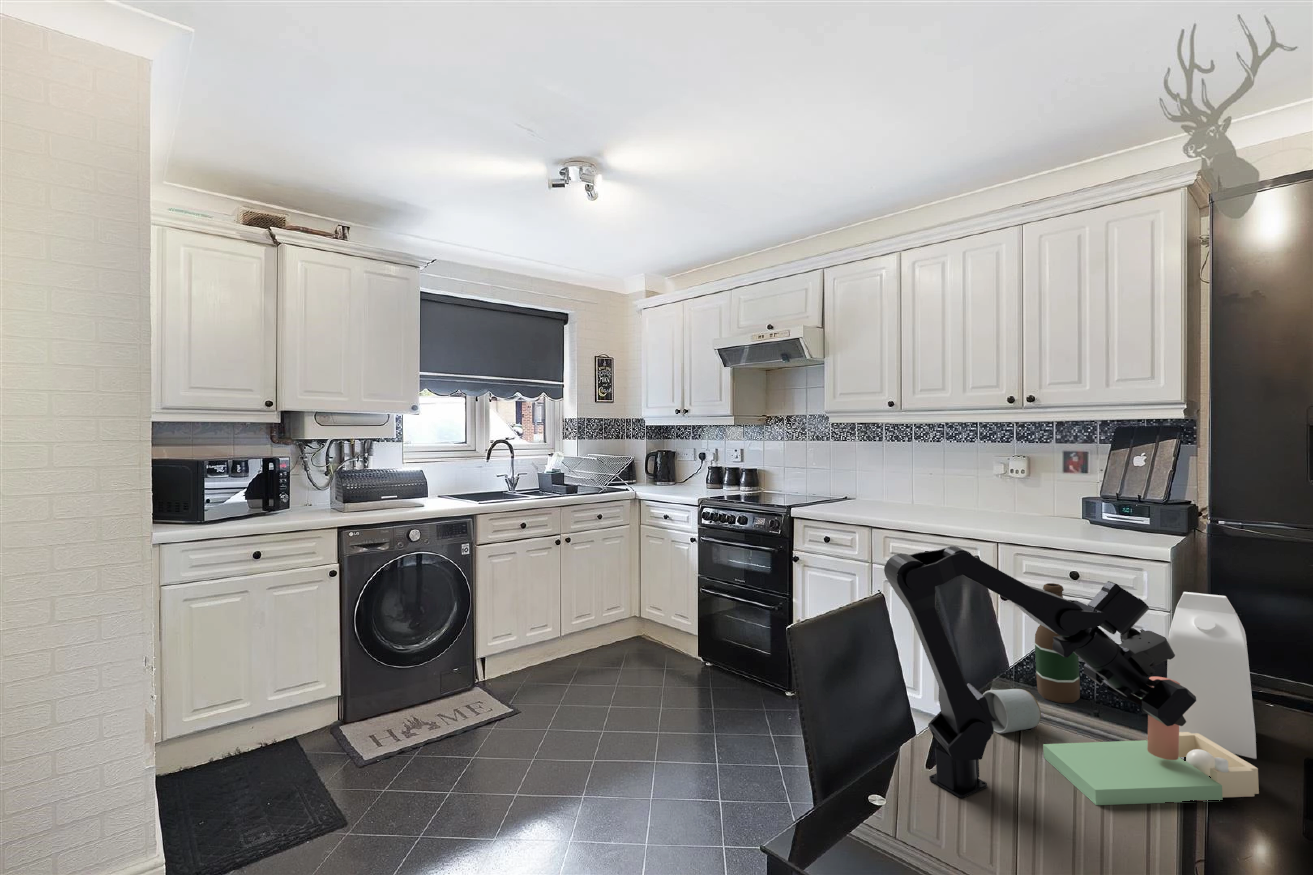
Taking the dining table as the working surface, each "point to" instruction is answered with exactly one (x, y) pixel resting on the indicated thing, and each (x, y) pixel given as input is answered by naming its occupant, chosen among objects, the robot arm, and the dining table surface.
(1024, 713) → the ceramic mug
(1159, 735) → the salmon pink cylinder
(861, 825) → the dining table surface
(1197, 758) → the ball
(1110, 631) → the robot arm
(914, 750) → the dining table surface
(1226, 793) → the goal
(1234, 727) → the milk
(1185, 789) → the pitch
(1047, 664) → the beer bottle
